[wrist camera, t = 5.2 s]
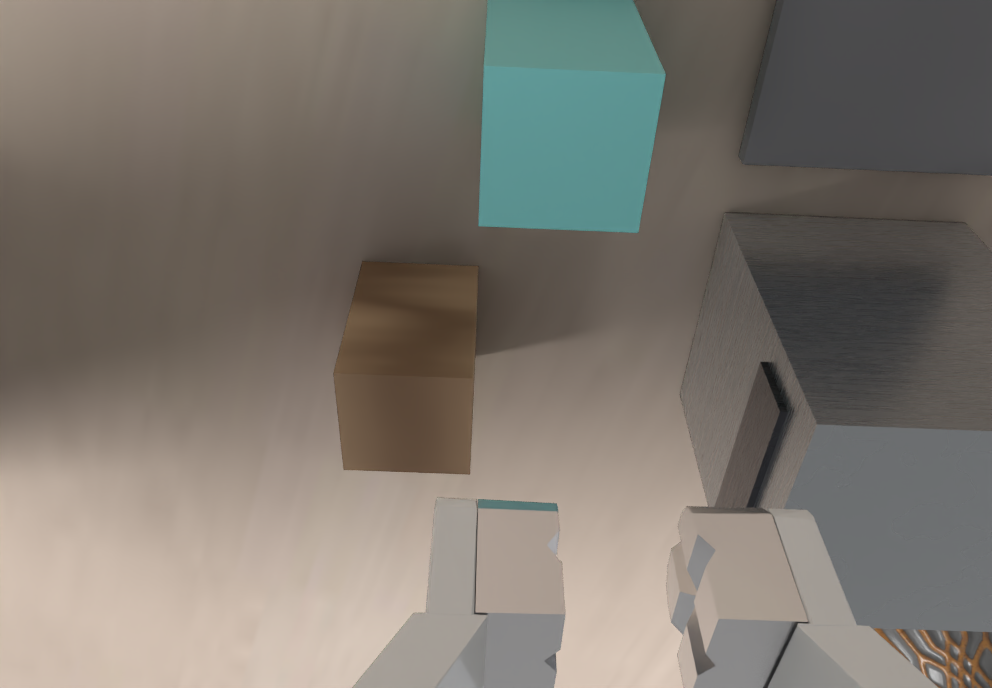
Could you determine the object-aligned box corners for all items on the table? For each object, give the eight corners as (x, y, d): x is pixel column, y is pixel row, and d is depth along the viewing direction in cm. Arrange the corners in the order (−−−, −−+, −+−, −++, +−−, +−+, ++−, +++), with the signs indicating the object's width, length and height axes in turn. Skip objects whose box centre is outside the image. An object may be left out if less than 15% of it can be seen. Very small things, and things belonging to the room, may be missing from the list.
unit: (674, 394, 31) (731, 623, 24) (718, 212, 26) (808, 424, 19) (891, 403, 32) (1019, 633, 24) (974, 223, 27) (1171, 438, 19)
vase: (895, 455, 33) (996, 648, 26) (1009, 510, 35) (1131, 703, 29) (781, 546, 37) (844, 737, 30) (890, 591, 39) (973, 779, 32)
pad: (738, 155, 25) (742, 164, 25) (800, -96, 21) (806, -91, 20) (991, 166, 25) (1000, 175, 25) (1104, -80, 21) (1117, -75, 21)
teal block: (483, 128, 25) (478, 225, 20) (488, -10, 22) (484, 65, 18) (613, 134, 25) (637, 232, 20) (631, -2, 22) (665, 73, 18)
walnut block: (368, 351, 30) (343, 469, 26) (362, 261, 28) (333, 373, 23) (475, 355, 30) (469, 474, 26) (478, 265, 28) (473, 378, 23)
